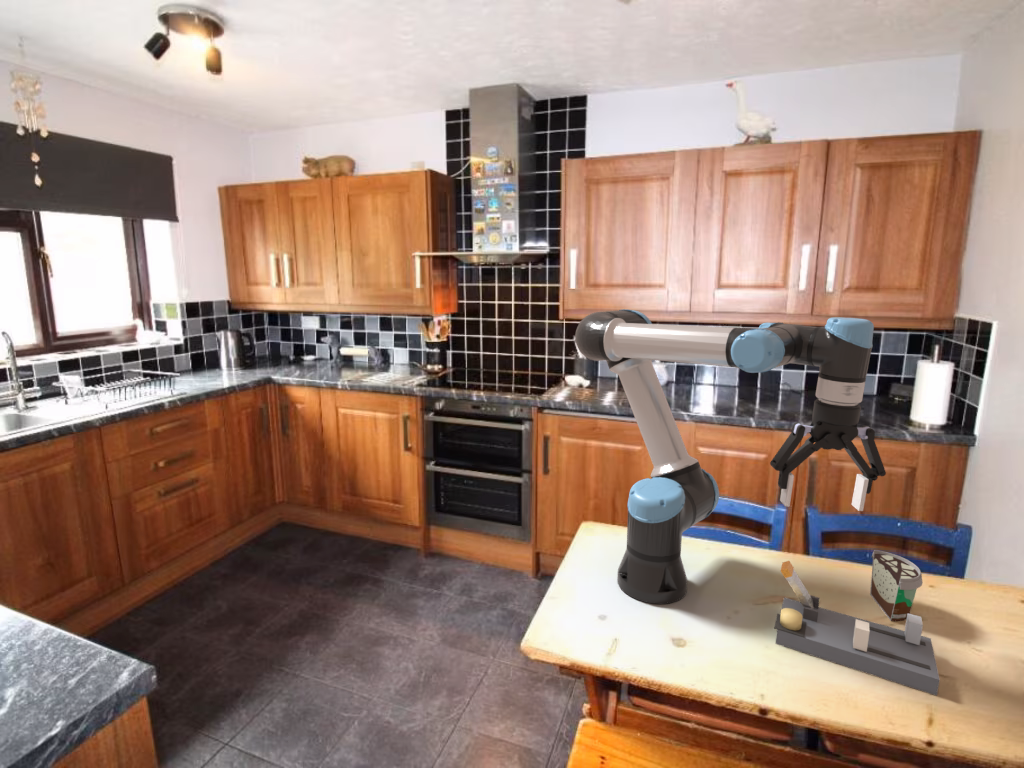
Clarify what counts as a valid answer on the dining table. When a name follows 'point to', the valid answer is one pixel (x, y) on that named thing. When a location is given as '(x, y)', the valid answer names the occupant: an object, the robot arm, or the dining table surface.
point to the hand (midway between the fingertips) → (820, 505)
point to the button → (791, 619)
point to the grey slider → (913, 629)
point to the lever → (797, 585)
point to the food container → (894, 584)
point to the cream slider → (861, 635)
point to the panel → (883, 658)
